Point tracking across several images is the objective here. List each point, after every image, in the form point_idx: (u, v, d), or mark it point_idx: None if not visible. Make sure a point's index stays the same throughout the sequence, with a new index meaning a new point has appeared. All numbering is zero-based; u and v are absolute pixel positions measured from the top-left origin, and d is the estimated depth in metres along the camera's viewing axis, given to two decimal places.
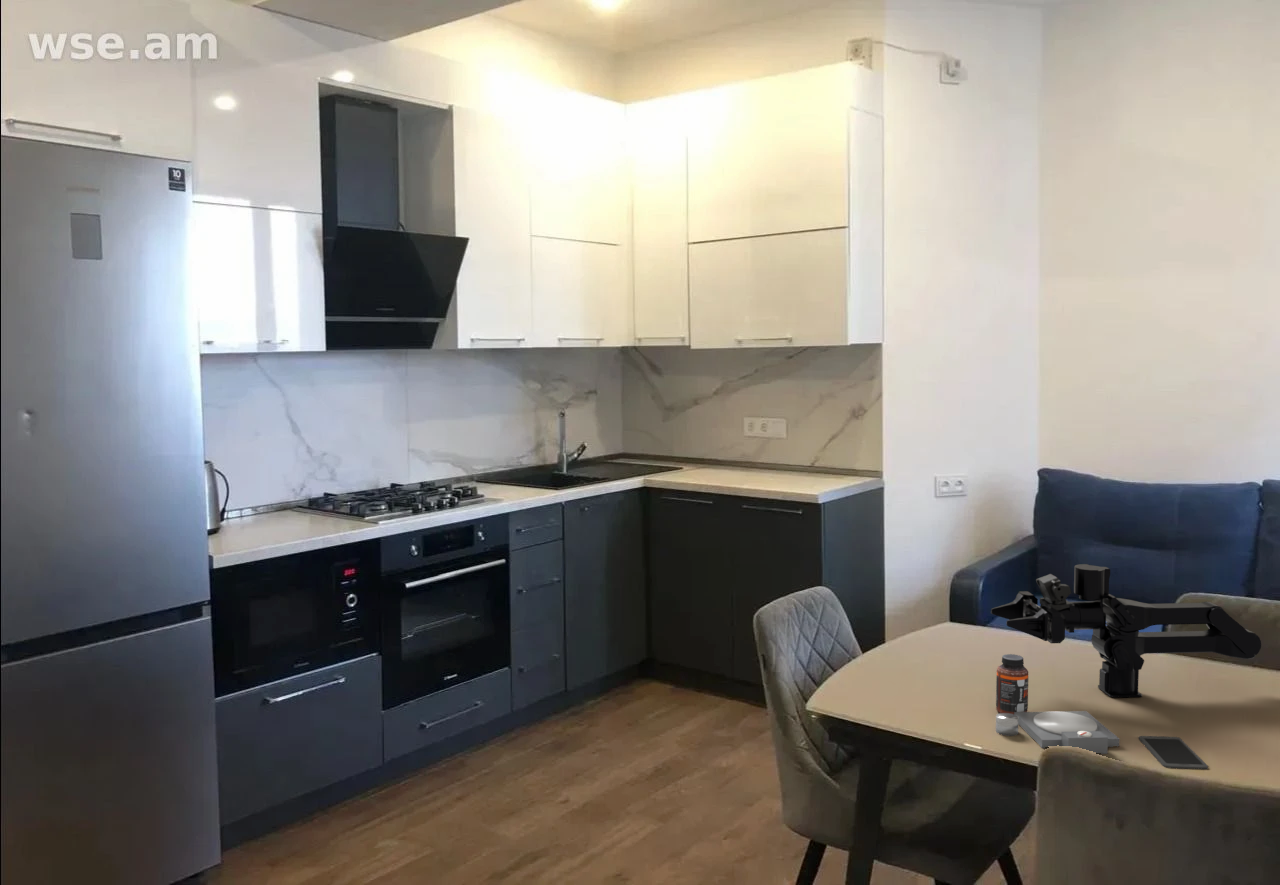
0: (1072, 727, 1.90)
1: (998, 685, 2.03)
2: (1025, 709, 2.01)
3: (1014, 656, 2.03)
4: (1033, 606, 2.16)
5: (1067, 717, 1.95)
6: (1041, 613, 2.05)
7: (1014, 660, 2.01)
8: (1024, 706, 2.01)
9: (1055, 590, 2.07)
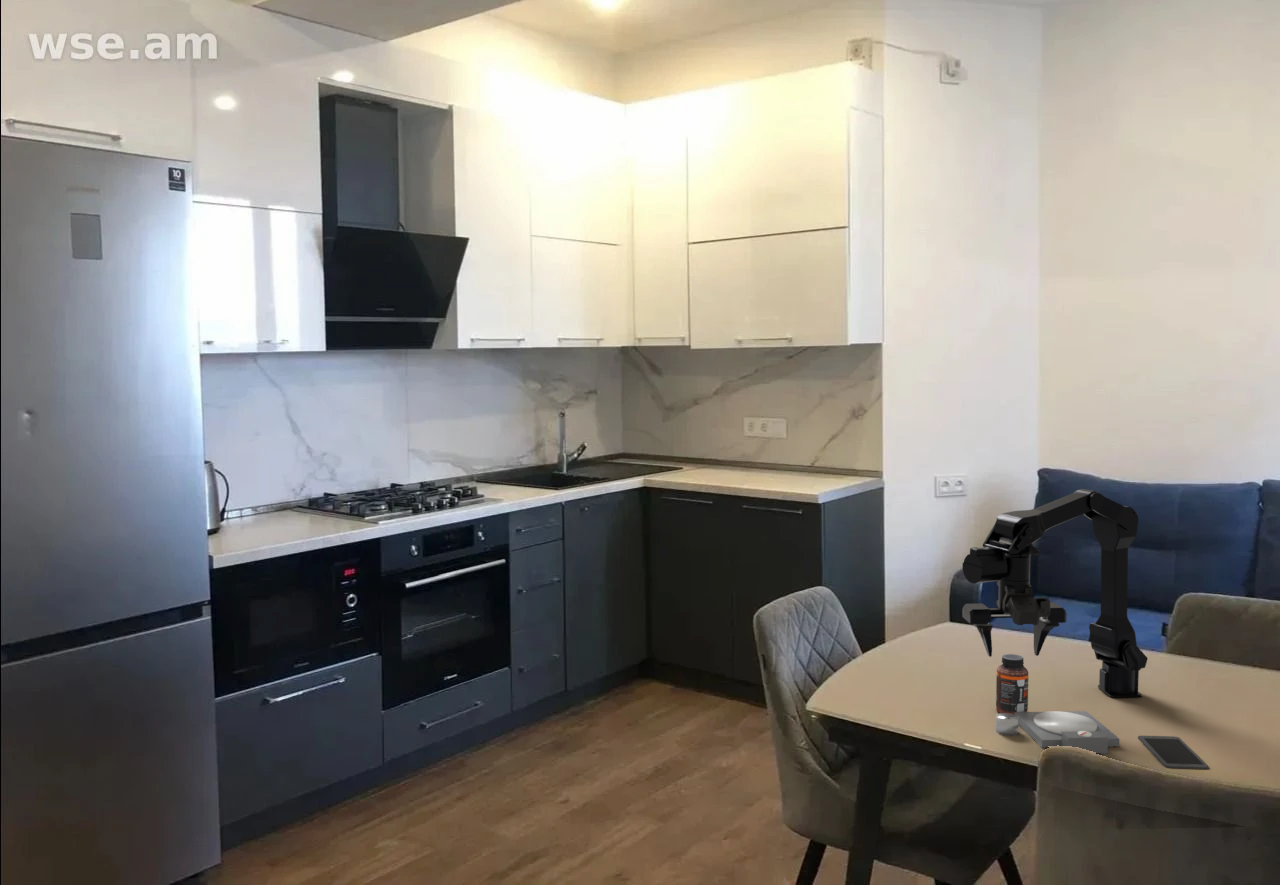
0: (1072, 727, 1.90)
1: (998, 685, 2.03)
2: (1025, 709, 2.01)
3: (1014, 656, 2.03)
4: None
5: (1067, 717, 1.95)
6: (1051, 627, 2.00)
7: (1014, 660, 2.01)
8: (1024, 706, 2.01)
9: None
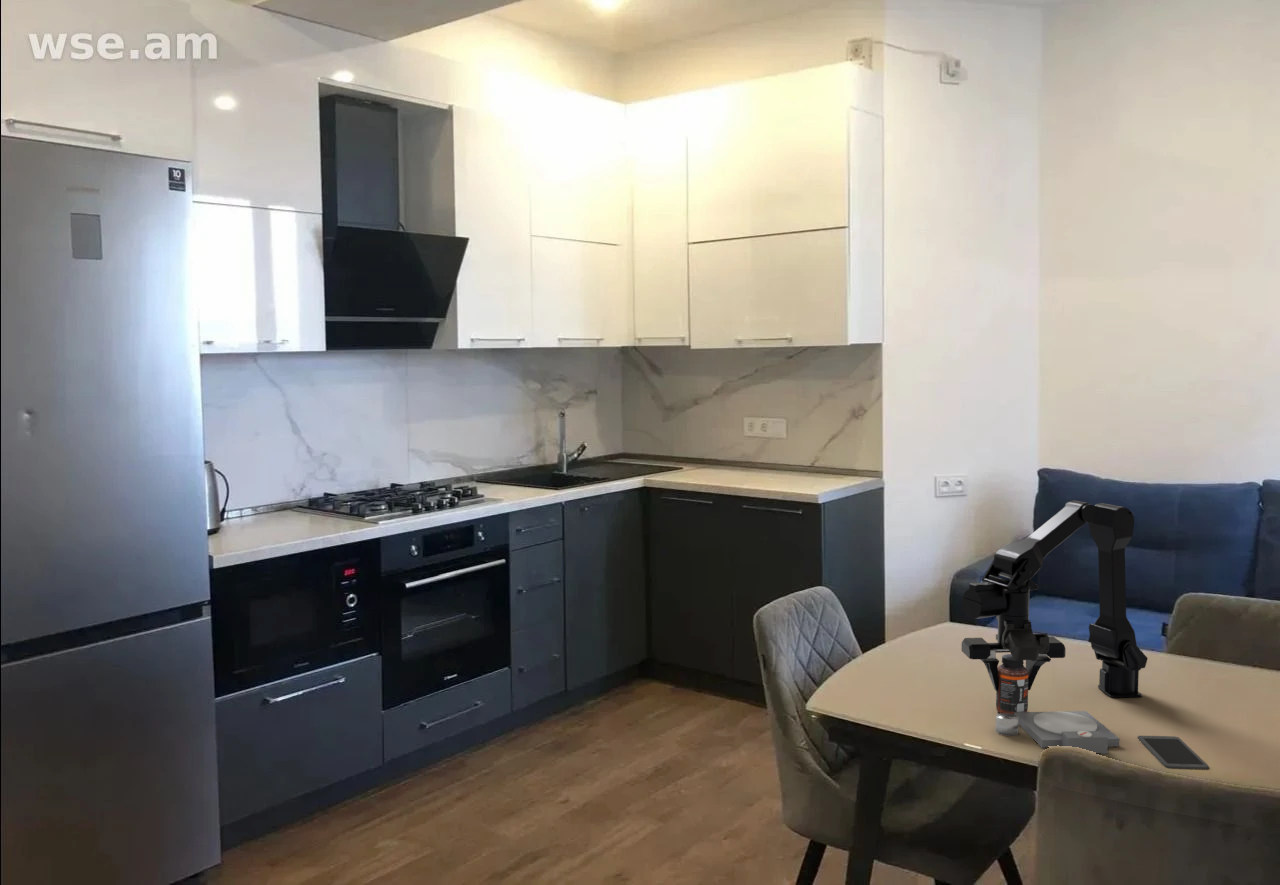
0: (1072, 727, 1.90)
1: None
2: (1025, 709, 2.01)
3: None
4: None
5: (1067, 717, 1.95)
6: (1043, 662, 2.00)
7: (1014, 660, 2.01)
8: (1024, 706, 2.01)
9: None
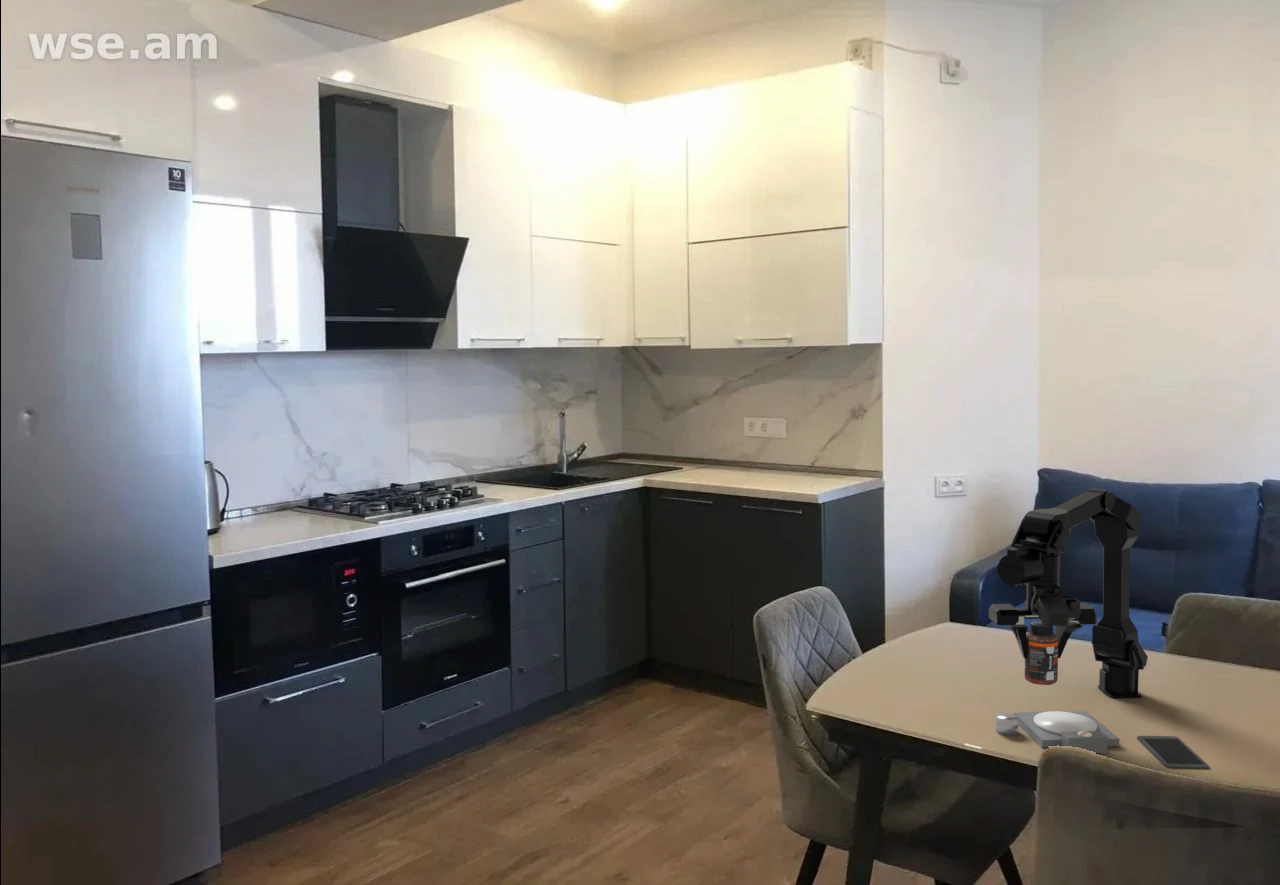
0: (1072, 727, 1.90)
1: (1027, 653, 1.96)
2: (1055, 677, 1.94)
3: None
4: None
5: (1067, 717, 1.95)
6: (1074, 629, 1.93)
7: (1043, 626, 1.94)
8: (1054, 674, 1.94)
9: None
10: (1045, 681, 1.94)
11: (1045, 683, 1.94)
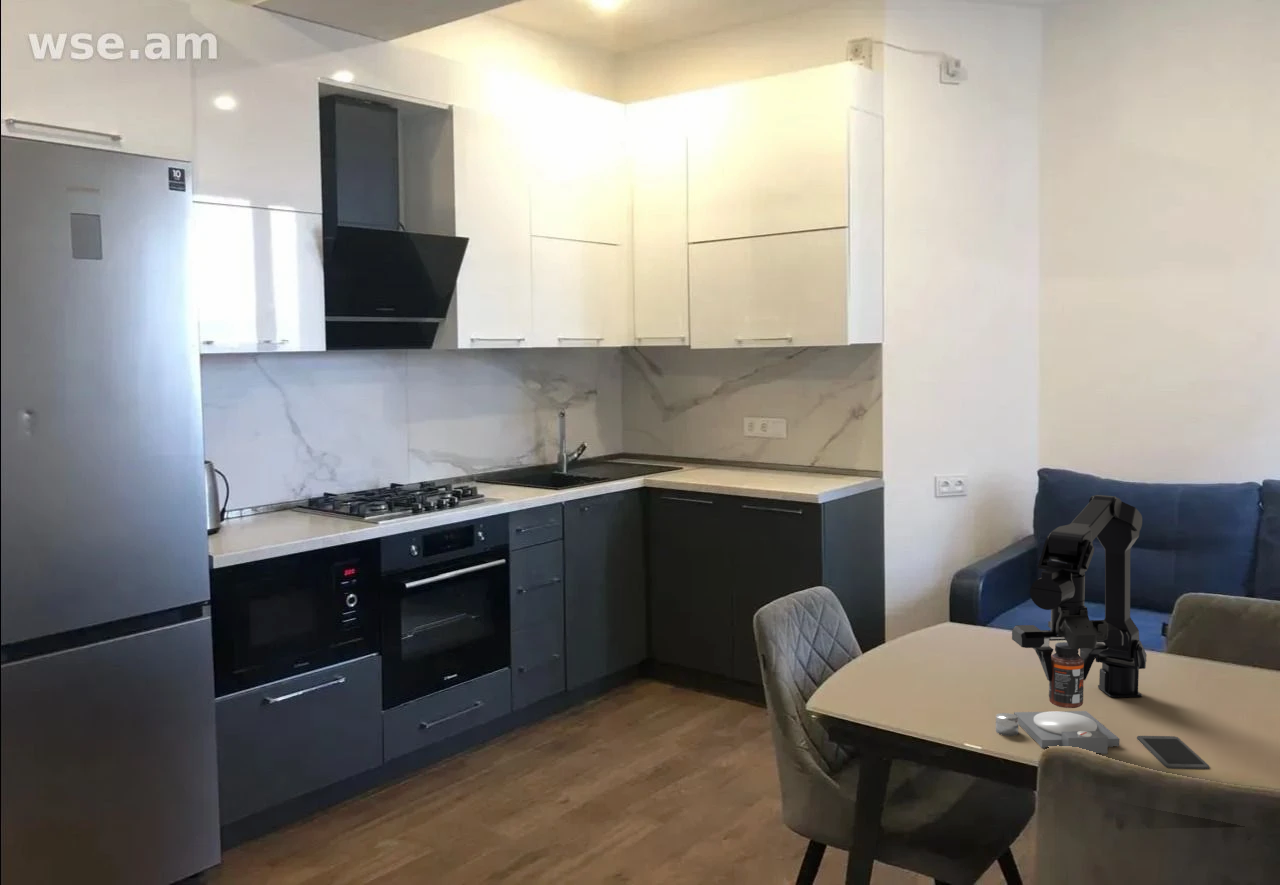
0: (1072, 727, 1.90)
1: (1052, 675, 1.91)
2: (1081, 700, 1.90)
3: None
4: None
5: (1067, 717, 1.95)
6: (1099, 651, 1.89)
7: (1069, 648, 1.90)
8: (1080, 697, 1.90)
9: None
10: (1071, 704, 1.89)
11: (1071, 706, 1.90)
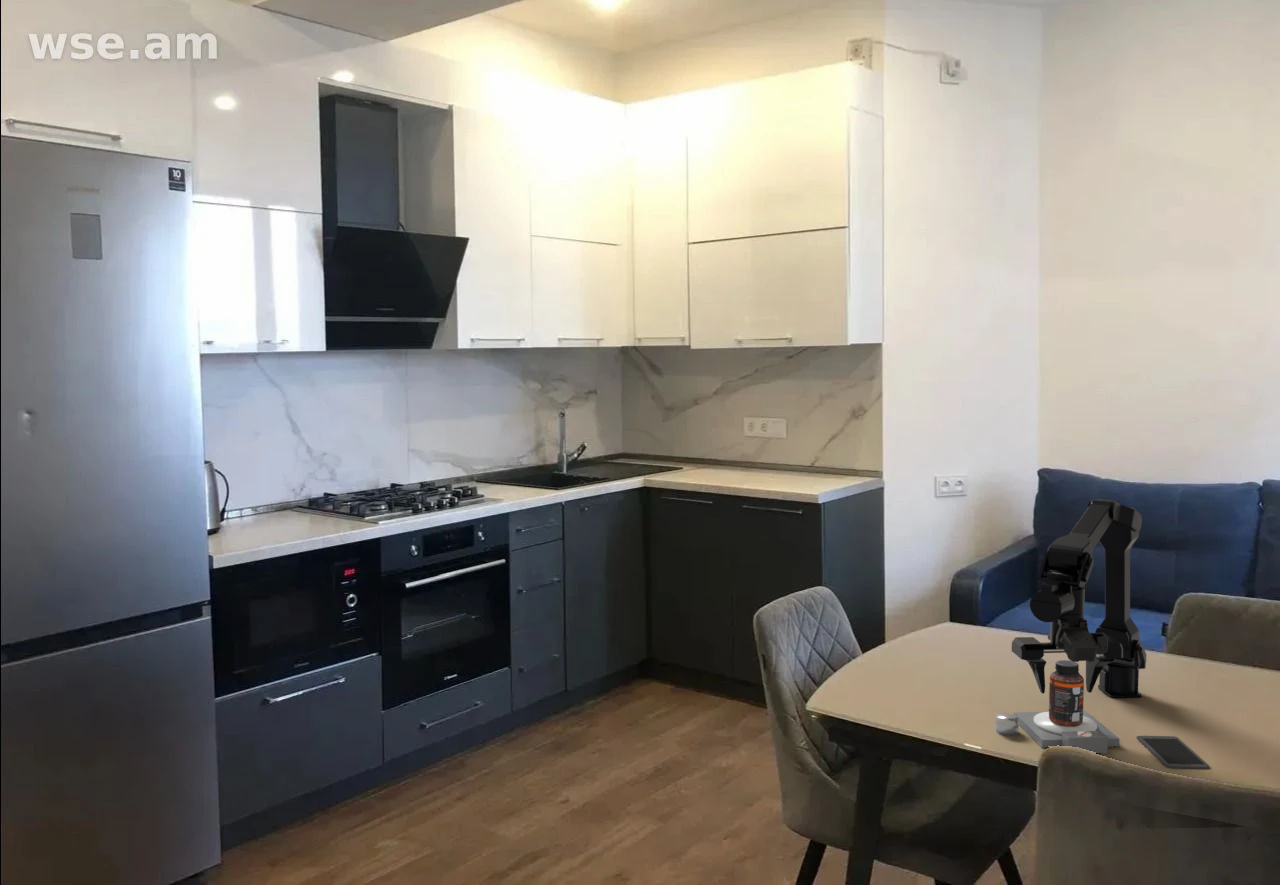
0: (1072, 727, 1.90)
1: (1052, 693, 1.92)
2: (1080, 718, 1.90)
3: (1068, 663, 1.92)
4: None
5: None
6: (1106, 663, 1.89)
7: (1069, 666, 1.90)
8: (1080, 715, 1.90)
9: None
10: (1071, 722, 1.90)
11: (1071, 724, 1.90)
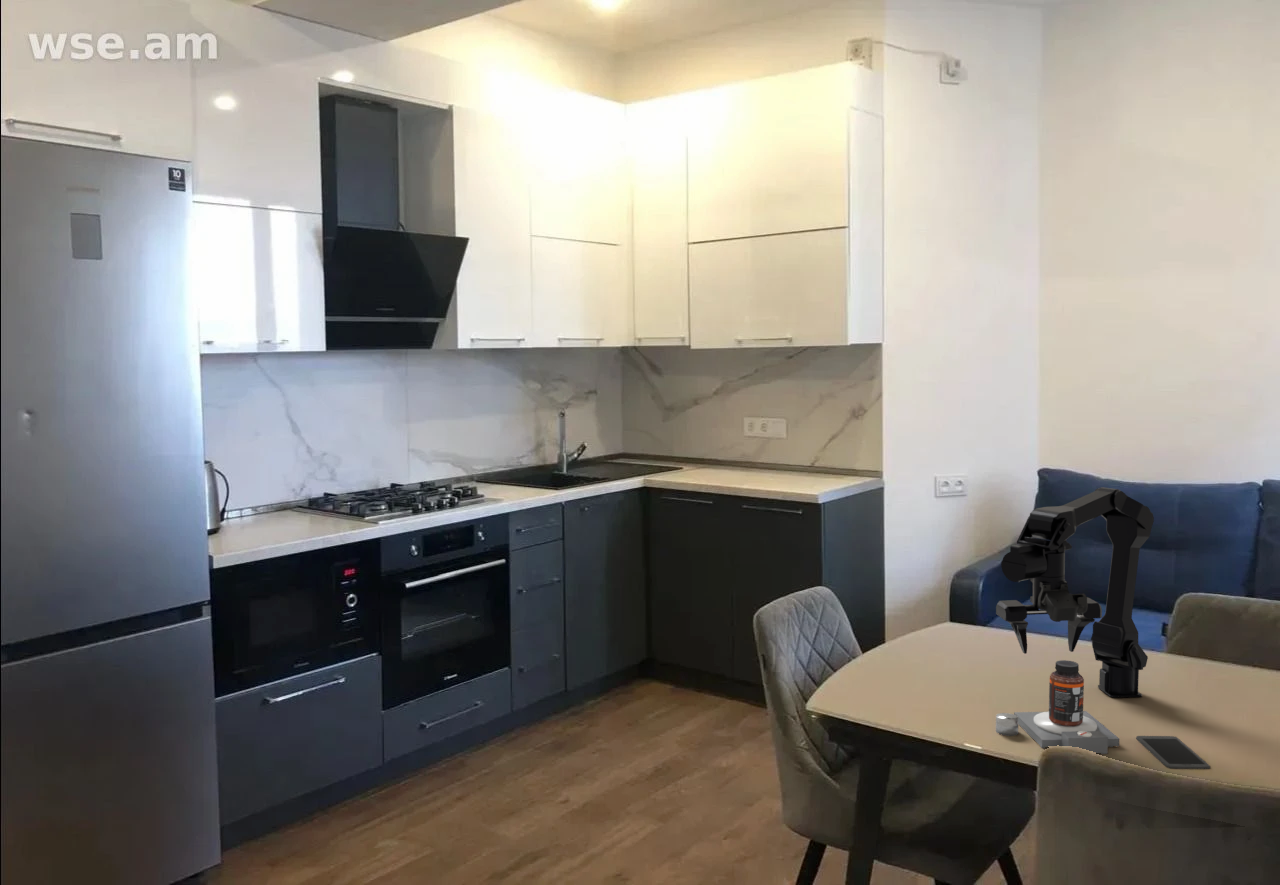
0: (1072, 727, 1.90)
1: (1052, 693, 1.92)
2: (1080, 718, 1.90)
3: (1068, 663, 1.92)
4: None
5: None
6: (1087, 623, 1.98)
7: (1069, 667, 1.90)
8: (1080, 715, 1.90)
9: None
10: (1071, 722, 1.90)
11: (1071, 724, 1.90)
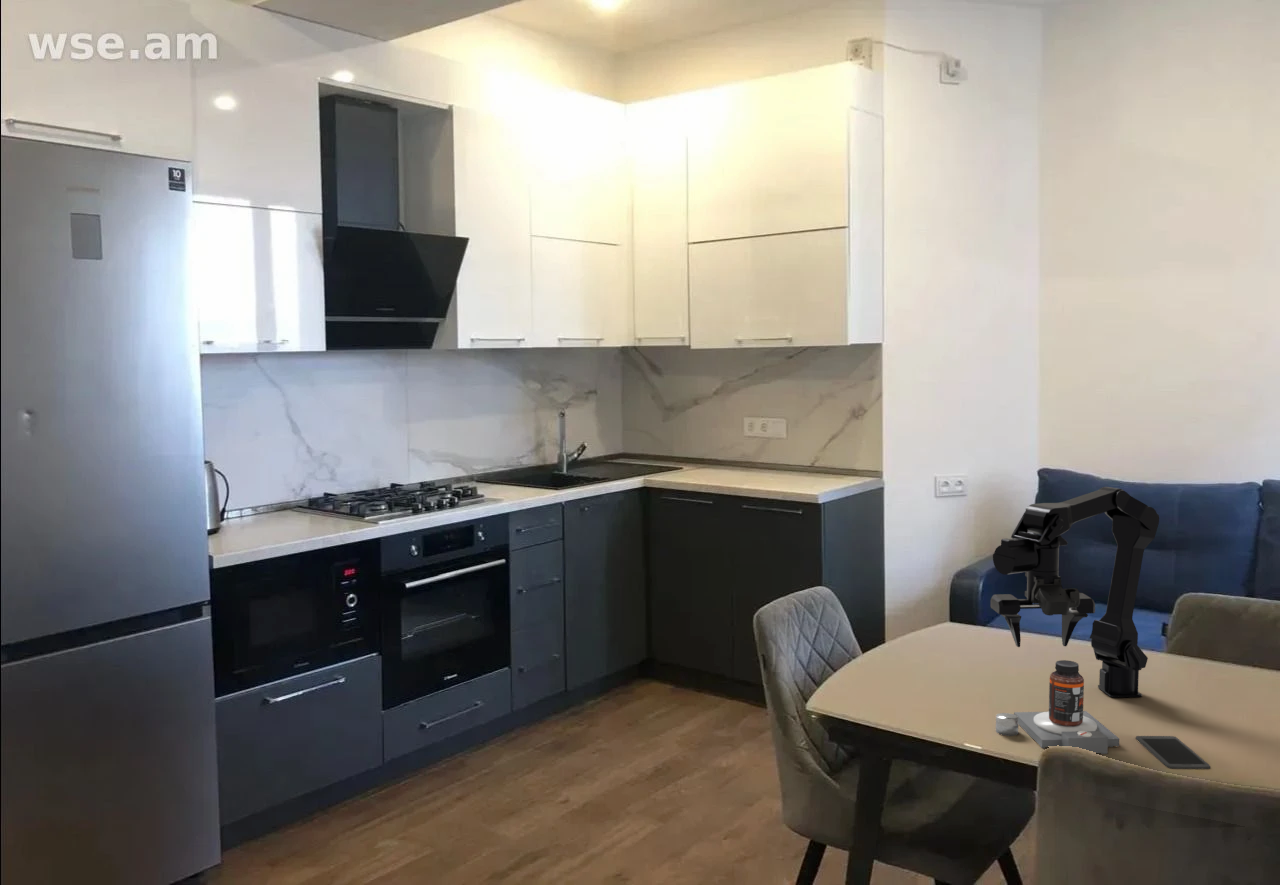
0: (1072, 727, 1.90)
1: (1052, 693, 1.92)
2: (1080, 718, 1.90)
3: (1068, 663, 1.92)
4: None
5: None
6: (1080, 618, 2.01)
7: (1069, 667, 1.90)
8: (1080, 715, 1.90)
9: None
10: (1071, 722, 1.90)
11: (1071, 724, 1.90)
